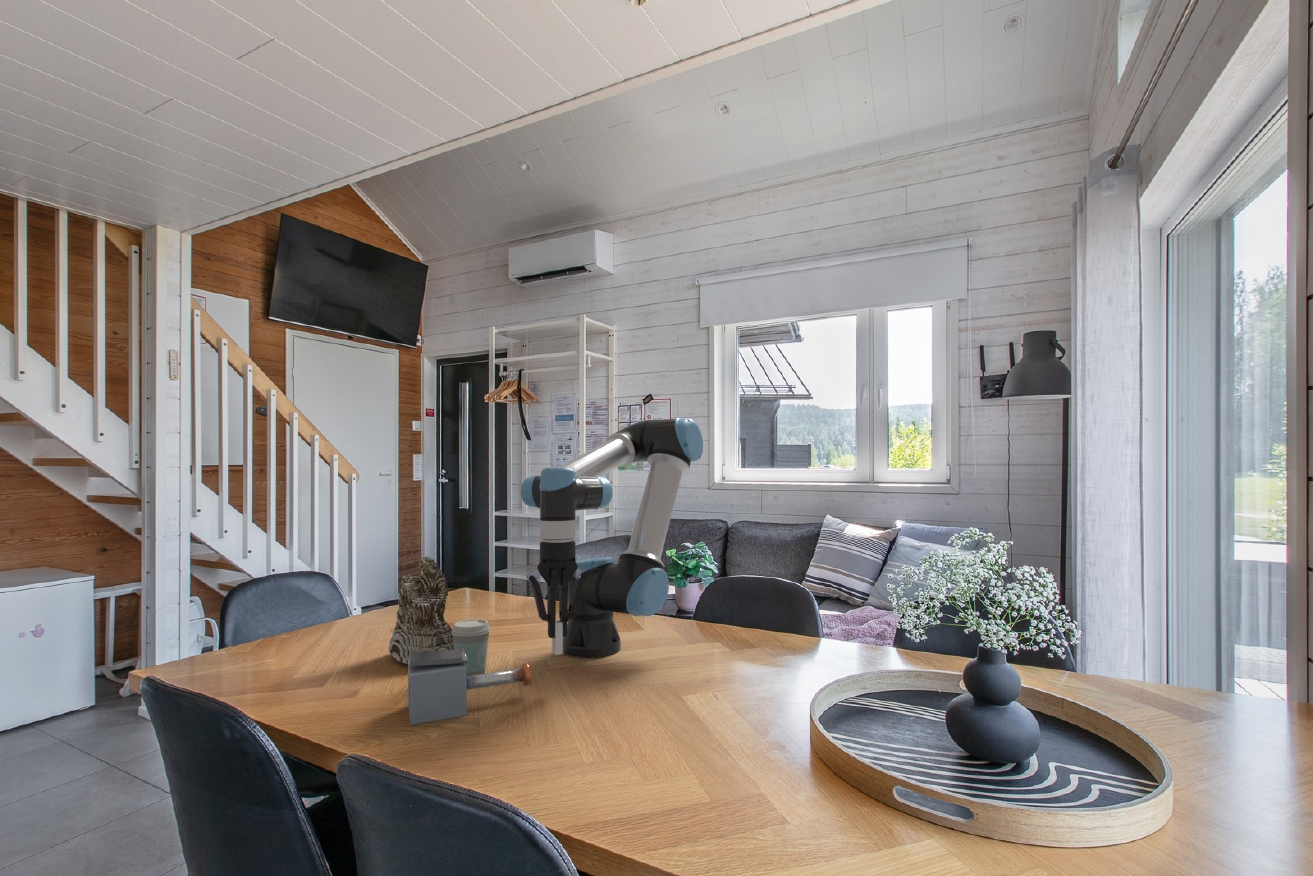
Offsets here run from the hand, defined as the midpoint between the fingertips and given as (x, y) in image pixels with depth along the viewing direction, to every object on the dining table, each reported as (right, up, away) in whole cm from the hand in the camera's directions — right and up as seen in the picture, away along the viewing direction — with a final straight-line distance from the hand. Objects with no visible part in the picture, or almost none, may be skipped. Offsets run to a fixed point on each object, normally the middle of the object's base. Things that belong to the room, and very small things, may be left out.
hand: (557, 652), depth 136 cm
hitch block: (-22, -8, -10) cm, 25 cm away
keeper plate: (-22, +2, -9) cm, 24 cm away
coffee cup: (-21, -9, +10) cm, 25 cm away
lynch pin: (-12, -6, -5) cm, 15 cm away
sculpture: (-37, -10, +24) cm, 45 cm away
